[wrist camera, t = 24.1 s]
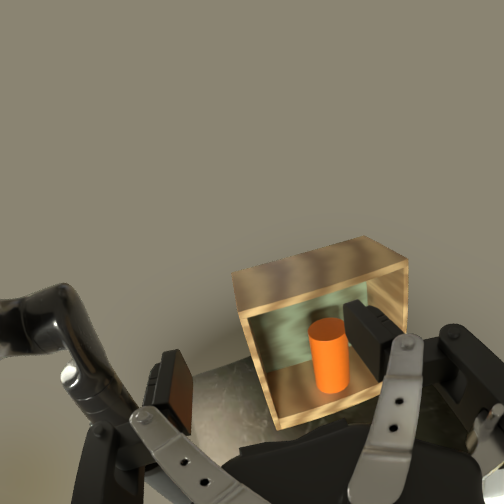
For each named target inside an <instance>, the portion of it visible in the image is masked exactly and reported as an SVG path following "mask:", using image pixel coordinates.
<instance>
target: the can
mask: <svg viewBox="0 0 504 504" xmlns="http://www.w3.org/2000/svg"><path fill="white" fill-rule="evenodd" d="M308 337H309V343H310V349H311V355H312V361H313V367H314V374H315V380H316V386H317V388H318V389H319V390H320V391H322V392H325V393H337V392H340V391H342V390H344V389H345V388H346V387H347V386H348V384H349V382H350V367H349V347H348V339H347V337H346V334H345V328H344V321H343V320H341V319H338V318H323V319H320V320H318V321H316V322H314V323H313V324H312V325H311V326H310V327H309V329H308Z"/></svg>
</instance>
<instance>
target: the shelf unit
mask: <svg viewBox="0 0 504 504" xmlns="http://www.w3.org/2000/svg"><path fill="white" fill-rule="evenodd" d="M231 274H232V280H233V287H234V293H235V299H236V305H237V311H238V314H239V318H240V321H241V324H242V328H243V331H244V334H245V337H246V340H247V343H248V347H249V350H250V353H251V356H252V359H253V362H254V365H255V368H256V371H257V374H258V377H259V380H260V383H261V386H262V389H263V392H264V395H265V398H266V401H267V404H268V407H269V410H270V413H271V415H272V418H273V421H274V424H275V427H276V430H281V429H285V428H288V427H292V426H295V425H299V424H302V423H305V422H308V421H312V420H315V419H318V418H321V417H324V416H326V415H329V414H332V413H335V412H338V411H340V410H343V409H346V408H348V407H351V406H353V405H356V404H358V403H361V402H363V401H366V400H368V399H370V398H373V397H375V396H377V395H379V394H380V391H381V387H382V383H383V381H382V382H380V383H378V382H377V380H376V379H375V377H374V376H373V375H372V373H371V372H370V370H369V369H368V368H367V366H366V365H365V363H364V362H363V361H362V359H361V358H360V356H359V355H358V354H357V352H356V351H355V350H354V348H353V347H352V345H351V344H350V343H349V341H348V347H349V367H350V382H349V384H348V386H347V387H346V388H345V389H344V390H342V391H340V392H337V393H325V392H322V391H320V390H319V389H318V388H317V386H316V380H315V374H314V367H313V361H312V355H311V349H310V343H309V337H308V329H309V327H310V326H311V325H312V324H313V323H314V322H316V321H318V320H320V319H323V318H338V319H341V320H343V321H344V317H343V304H344V303H347V302H350V301H353V300H356V299H359V300H360V301H361V302H362V303H363V304H364V305H365V306H369V305H371V306H374V307H376V308H379V309H380V310H381V311H382V312H383V313H384V314H385V315H386V316H387V317H388V318H389V319H391V320H392V321H393V322H394V323H395V324H396V325H397V326H398V327H399V328H400V329H401V330H402V331H403V332H404V333H405V334H406V330H407V315H408V259H407V258H405V257H404V256H402V255H400V254H398V253H396V252H394V251H393V250H391V249H389V248H387V247H385V246H383V245H381V244H380V243H378V242H375V241H374V240H372V239H370V238H368V237H366V236H361V237H357V238H354V239H351V240H347V241H344V242H340V243H336V244H333V245H329V246H326V247H322V248H319V249H315V250H312V251H309V252H305V253H301V254H298V255H294V256H290V257H287V258H284V259H280V260H276V261H272V262H269V263H265V264H262V265H258V266H255V267H251V268H247V269H243V270H240V271H236V272H232V273H231Z"/></svg>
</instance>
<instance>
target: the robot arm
mask: <svg viewBox="0 0 504 504" xmlns="http://www.w3.org/2000/svg"><path fill="white" fill-rule="evenodd" d="M343 317H344V328H345V334H346V337H347V339H348V341H349V343H350V344H351V345H352V347H353V348H354V350H355V351H356V352H357V354H358V355H359V356H360V358H361V359H362V361H363V362H364V363H365V365H366V366H367V368H368V369H369V370H370V372H371V373H372V375H373V376H374V377H375V379H376V380H377V382H378V383H380V382H382V381H383V383H382V387H381V391H380V395H379V399H378V403H377V407H376V410H375V414H374V417H373V421H372V424H365V423H354V424H347V422H346V420H345V418H343V419H340V420H337V421H335V422H332V423H329V424H326V425H323V426H320V427H318V428H316V429H315V430H313V431H311V432H309V433H307V434H306V435H304V436H302V437H300V438H298V439H296V440H293V441H281V442H264V443H260V444H255V445H250V446H246V447H240V448H239V451H240V455H239V456H236V457H234V458H232V459H231V460H229V461H228V462H226V463H225V464H224V465H222V466H221V467H220V466H219V465H217V464H216V463H215V462H214V461H213V460H211V459H210V458H209V457H208V456H207V455H206V454H205V453H204V452H202V451H201V450H200V449H199V448H198V447H197V446H196V445H195V444H194V443H193V442H192V441H191V440H190V439H188V438H187V437H186V436H189V435H191V421H192V397H193V379H192V375H191V373H190V370H189V368H188V366H187V364H186V362H185V360H184V358H183V356H182V354H181V352H180V350H178V349H176V350H171V351H166V352H163V354H162V359H161V363H158V364H155V366H154V367H153V368H152V370H151V371H150V375H149V380H148V383H147V387H146V391H145V395H144V400H143V405H142V407H140V408H139V407H138V406H137V404H136V403H135V401H134V400H133V398H132V397H131V395H130V394H129V393H128V391H127V390H126V388H125V387H124V385H123V384H122V382H121V380H120V379H119V377H118V376H117V374H116V373H115V371H114V369H113V368H112V366H111V364H110V363H109V361H108V358H107V356H106V353H105V350H104V348H103V346H102V344H101V342H100V340H99V338H98V336H97V334H96V332H95V329H94V328H93V325H92V323H91V321H90V318H89V316H88V313H87V311H86V309H85V306H84V304H83V302H82V300H81V298H80V296H79V295H78V293H77V292H76V290H74V288H73V287H72V286H71V285H69V284H67V283H59V284H56V285H53V286H50V287H47V288H45V289H42V290H39V291H37V292H34V293H31V294H29V295H26V296H23V297H20V298H15V299H0V360H1V359H3V358H7V357H12V356H29V355H49V354H53V353H57V352H61V351H65V350H69V352H70V354H71V356H72V359H71V360H70V361H69V362H68V363H67V364H66V366H65V367H64V369H63V371H62V373H61V377H60V378H61V383H62V385H63V387H64V389H65V390H66V391H67V393H68V394H69V395H70V397H71V398H72V399H73V401H74V402H75V403H76V405H77V406H78V407H79V408H80V409H81V411H82V412H83V413H84V414H85V415H86V417H87V418H88V419H89V420H90V428H89V430H88V432H87V436H86V440H85V443H84V447H83V451H82V455H81V459H80V463H79V467H78V472H77V476H76V481H75V485H74V490H73V496H72V501H71V504H143V496H144V475H145V465H148V464H151V463H154V462H157V463H158V464H159V465H160V466H161V468H162V469H163V470H164V471H165V472H166V474H167V475H168V476H169V477H170V478H171V479H172V480H173V482H174V483H175V484H176V485H177V486H178V487H179V488H180V489H181V490H182V491H183V493H184V494H185V495H186V496H187V497H188V498H189V499H190V500H191V501H192V503H191V504H485V501H484V497H483V490H482V481H483V480H484V479H486V478H487V477H488V476H490V475H491V474H492V473H493V472H495V471H496V470H497V469H499V470H500V469H504V363H503V362H502V361H501V360H500V359H499V358H498V357H497V356H496V355H495V354H494V353H493V352H492V351H491V350H490V349H488V348H487V347H486V346H485V345H484V344H483V343H482V342H481V341H480V340H479V339H477V338H476V337H475V336H474V335H473V334H472V333H471V332H469V331H468V330H467V329H466V328H465V327H464V326H462V325H459V324H448V325H445V326H444V327H442V328H441V330H440V333H439V337H434V338H430V339H425V340H422V338H421V337H420V336H418V335H415V334H411V333H406V334H405V333H404V332H403V331H402V330H401V329H400V328H399V327H398V326H397V325H396V324H395V323H394V322H393V321H392V320H391V319H389V318H388V317H387V316H386V315H385V314H384V313H383V312H382V311H381V310H380V309H379V308H376V307H374V306H371V305H369V306H365V305H364V304H363V303H362V302H361V301H360V300H359V299H356V300H353V301H350V302H347V303H344V304H343ZM432 384H433V385H434V386H435V388H436V389H437V390H438V392H439V393H440V394H441V396H442V397H443V398H444V400H445V401H446V402H447V404H448V405H449V406H450V408H451V409H452V410H453V412H454V413H455V414H456V416H457V417H458V419H459V420H460V421H461V423H462V424H463V426H464V427H465V428H466V430H467V431H468V433H467V435H466V440H465V441H466V446H467V448H468V452H469V454H468V453H466V452H463V451H459V450H455V449H451V448H447V447H443V446H439V445H436V444H432V443H429V442H425V441H422V440H418V439H415V433H416V428H417V422H418V415H419V408H420V401H421V392H422V387H424V386H428V385H432Z"/></svg>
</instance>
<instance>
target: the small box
mask: <svg viewBox="0 0 504 504" xmlns="http://www.w3.org/2000/svg"><path fill="white" fill-rule="evenodd" d="M482 490H483V497H484V501H485V504H504V469H500V470H499V469H497V470H496V471H495V472H493V473H492V474H491V475H490V476H488V477H487V478H486V479H484V480H483V481H482Z"/></svg>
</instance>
